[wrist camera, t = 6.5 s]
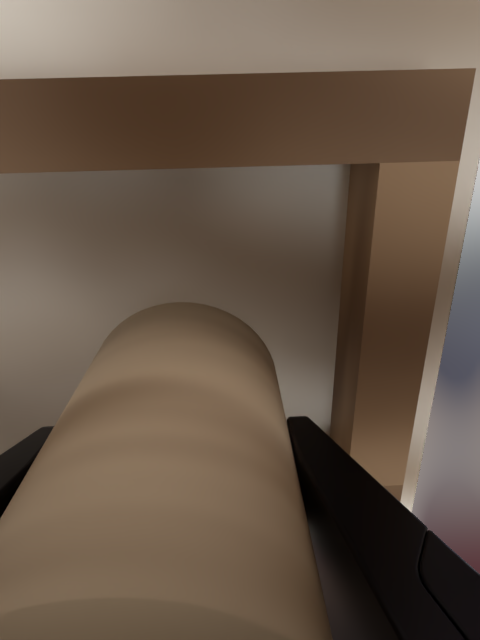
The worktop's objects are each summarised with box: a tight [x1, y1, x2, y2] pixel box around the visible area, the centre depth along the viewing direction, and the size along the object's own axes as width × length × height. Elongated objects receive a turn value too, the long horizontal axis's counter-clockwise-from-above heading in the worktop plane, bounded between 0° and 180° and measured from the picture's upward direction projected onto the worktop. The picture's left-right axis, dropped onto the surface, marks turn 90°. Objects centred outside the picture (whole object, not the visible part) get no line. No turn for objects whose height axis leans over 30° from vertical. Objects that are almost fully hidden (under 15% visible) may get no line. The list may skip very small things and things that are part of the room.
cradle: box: [0, 0, 480, 513], centre depth 10 cm, size 22×17×3 cm
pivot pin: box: [0, 302, 333, 640], centre depth 7 cm, size 4×4×6 cm
